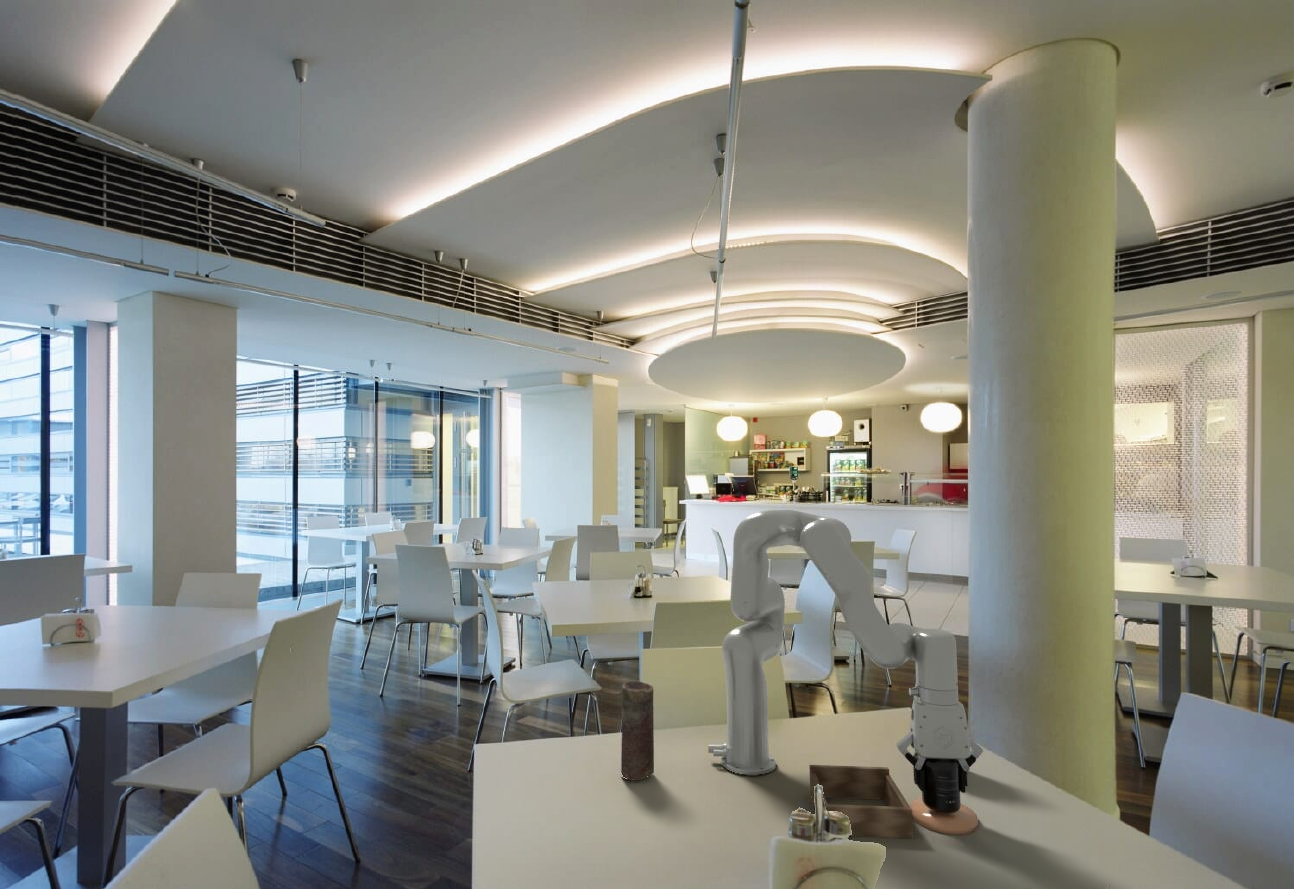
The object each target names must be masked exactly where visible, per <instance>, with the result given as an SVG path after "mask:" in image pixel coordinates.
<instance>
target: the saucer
mask: <svg viewBox="0 0 1294 889" xmlns="http://www.w3.org/2000/svg"><path fill="white" fill-rule="evenodd" d="M909 806H910V807H911V809H912V820H913V821H914V822H915V823H917V825H919V826H921V827H923V828H925V829H928V830H931V831H933V832H936V833H940V832H941V834H945V835H946V834H947V835H956V834H959V835H967V833H968V834H971V833H973V832H974V830H975V831H976V830H977V829H978V826H979V823H978V822H979V821H978V819H979V818H978V815H977V814H976V812H975V811H974V810H973V809H972V808H970V807H969V806H967V805H965V804H963V803H961V806H960V809H959V810H958V811H957V812H955V813H940V812H936V811H934V810H931V809H929V808H928V807H927V806H926V805H925V804H924V803H923V800H922V797H918V798H916V799H914V800H912V801H911V802H910V803H909ZM972 831H973V832H972ZM970 832H971V833H970Z"/></svg>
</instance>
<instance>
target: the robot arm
mask: <svg viewBox="0 0 1294 889" xmlns="http://www.w3.org/2000/svg"><path fill="white" fill-rule="evenodd" d="M851 534H852V533H851V531H850V529H849V528H848V526H847V525H846V524H845V523H844V522H843V521H840V520H839V519H836V518H833V517H826V516H821V515H816V514H814V513H813V514H812V513H808V512H802V511H799V510H798V511H797V510H795V509H794V510H793V509H770V510H763V511H759V512H755V513H752V514H751V515H748V516H747V517H745V518H744V519H743V520H742V521H741V522H740V523H739V524H738V525H737V527H736V529H735V532H734V535H733V540H732V541H733V542H732V543H733V544H732V545H733V546H732V548H733V552H732V553H733V554H732V556H733V557H732V558H733V559H732V568H731V581H730V582H731V584H730V597H729V598H730V600H729V602H730V610H731V612H732V615H734V617H735V618H737V619H738V620H739V621H742V622H747V623H746V624H743V625H740V626H737V627H734V628H733V629H732V630H730V631H729V632H728V633H727V634H726V635H725V637H724V639H723V641H722V644H721V654H722V660H723V665H724V670H725V671H724V672H725V685H726V686H725V687H726V692H725V693H726V728H727V730H726V731H727V732H726V733H727V734H726V735H727V736H726V739H725V742H722V743H721V744H715V743H708V746H707V747H708V754H713V757H721V758H720V763H722V764H721V766H722V765H723V766H724V767H726V768H727V769H728V770H730V771H729V772H731V771H732V772H731V773H733V772H735V773H734V774H737V773H742V774H753V775H752V776H759V775H758V774H763V775H765V774H764V773H767V774H768V773H771V772H773V771H774V770H775V769H776V766H777V761H776V758H775V756H773V755H771V754H770V751H769V750H770V747H769V745H770V743H769V706H768V705H769V703H768V700H769V699H768V683H767V677H766V675H765V671H764V668H763V667H764V666H763V664H764V663H766V662H768V661H770V660H771V659H773V658H775V657H776V656H778V654H779V653H780V651H781V649H782V645H783V638H784V625H785V624H784V622H785V619H784V618H785V607H786V606H785V605H786V604H785V603H786V601H785V595H784V591H783V589H782V586H781V585H780V584H779V582H777V581H776V580H775V579H774V578H771V577H770V576H769V572H770V571H769V570H770V562H769V557H768V552H767V551H768V549H771V548H775V547H776V548H777V547H784V546H793V547H797V548H803V551H804V552H805V554H806V555H807V556H808V557H809V559H810V560H811V561H812V563H813V565H814V566H815V568H816V569H817V570H818V571H819V572H820V575H821V576H822V577H823V578H824V580H825V581H826V583H827V584H828V586H829V587H830V589H831V590H832V592H833V593H834V595H835V596H836V599H837V602H838V606H839V609H840V611H841V615H842V617H843V619H844V622H845V624H846V627H847V628H848V630H849V631H850V634H851V635H852V636H853V638H854V640H855V641H856V643H857V644H858V645H859V647H860V648H861V649H862V651H863V652H864V654H865V655H866V656H867V657H868V658H869V660H870V661H872V662H873V663H874V664H875V665H876V666H878V667H879V668H882V669H886V670H894V669H897V668H899V667H901V666H902V665H904V664H905V663H906V662H910V661H914V662H915V683H914V684H915V685H914V686H913V687H909V688H908V694H909V696H913V697H914V696H916V697H917V698H915V699H914V698H913V699H912V700H913V702H912V706H911V713H910V722H909V723H910V725H909V733H908V734H906V735H905V736H904V737H902V739H900V740H899V741H898V742H897V743H896V744H895V746H896V748H897V750H899V752H900V753H901V754H902V755H903V757H904V758H905V759H906V760H907V761H908V762H909V763H910V764H911V765H912V766H913V769H912V770H913V782H914V785H916V787H917V788H918V789H919V790H920V792H922V791H925V772H924V770H923V769H922V766H923V763H924V761H925V759H926V758H932V759H956V760H957V761H958V763H959V778H960V793H962V794H966V787H968V772H969V771H970V767H972V766H973V765H974V764H975V763H976V762H977V759H978V758H979V757H980V756H981V755H982V753H983V752H984V749H983V748H982V747H981V746H980V745H979V744H978V743H976V742H975V741H974V740H973V739H971V738H970V733H969V726H968V725H969V724H968V720H967V719H968V718H967V714H966V710H965V707H964V703H963V702H962V703H963V704H962V703H960V702H959V701H958V700H959V682H958V679H959V677H958V658H957V656H958V654H957V651H958V650H957V640H956V637H955V634H953V633H952V632H950V631H948V630H944V629H940V628H939V629H937V628H921V627H919V626H913V625H911V624H907V623H903V622H902V623H901V622H893V623H890V624H888V622H887V621H886V620H885V618H884V617H883V615H882V614H881V612H880V611H879V609H878V608H877V605H876V603H875V601H874V598H873V594H872V577H871V575H870V574H871V573H870V572H869V571H868V569H867V568H866V566H865V565H864V564H863V563H862V561H861V560H860V559H859V557H858V556H857V555H856V554H855V552H854V550H853V549H852V548H851V544H852V535H851ZM909 746H910V747H911V748H912V749H914V752H913V754H912V753H911V752H909V750H908V747H909ZM723 766H722V767H723ZM724 767H723V768H724ZM727 769H726V770H727ZM728 770H727V771H728ZM754 774H756V775H754Z"/></svg>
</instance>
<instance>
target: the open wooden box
mask: <svg viewBox="0 0 1294 889" xmlns="http://www.w3.org/2000/svg"><path fill="white" fill-rule="evenodd" d="M808 767H809V794H811V795H810V797H811V796H812V798H811V801H812V800H813V801H812V804H813V805H814V804H815V803H814V786H816V785H817V784H819V785H822V786H823V792H824V794H823V798H824V802H825V807H826V810H827V811H838V812H842V813H843V814H845V815H847V816H848V817H849V820H850V824H851V830H852V836H851V837H867V836H870V838H871V837H872V838H873V837H874V838H893V839H894V838H897V839H914V830H913V829H914V828H913V827H914V825H913V821H914V820H913V819H912V809H911V807H910V806H909V805H910V803H908V801H907V800H906V798H905V797H904V795H903V793H902V791H900V788H899V787H898V786H897V784H896V782H895V781H894V779H893V778H892V776H891V775H890V768H889V767H888V766H885V767H884V766H860V765H857V766H855V765H825V764H820V765H819V764H809V766H808ZM826 798H833V799H834V798H836V799H837V798H838V799H839V798H840V799H859V800H860V799H862V800H863V799H864V800H866V799H867V800H868V799H869V800H885V801H886V803H887V806H886V805H882V806H881V805H864V804H863V805H859V804H858V805H857V804H856V805H855V804H854V805H853V804H832V803H831V804H830V803H829V804H828V802H827V799H826Z"/></svg>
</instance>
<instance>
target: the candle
mask: <svg viewBox="0 0 1294 889" xmlns="http://www.w3.org/2000/svg"><path fill="white" fill-rule="evenodd" d="M621 687H622V690H621V691H622V692H621V750H620V751H621V754H620V755H621V756H620V757H621V758H620V762H621V763H620V766H621V768H620V774H621V773H622V775H623V777H625V778H627V780H631V779H634V780H633V781H635V780H637V781H641V780H644V779H647V778H648V777H647V776H649V777H650V776H652V775H653V774H654V772H655V749H654V748H655V746H654V743H655V741H654V735H655V734H654V733H655V732H654V730H655V728H654V724H655V723H654V687H653V685H651V684H649V683H647V682H643V681H638V680H634V681H633V680H629V681H625V682H624V683H622V686H621ZM623 777H622V778H623ZM646 777H647V778H646Z"/></svg>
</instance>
